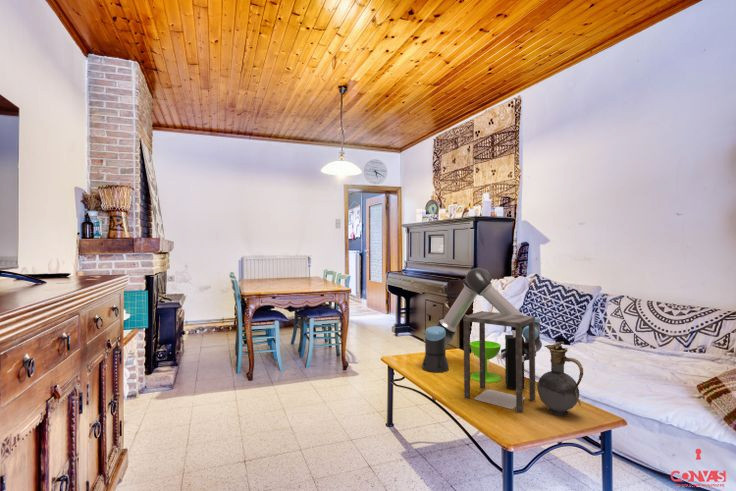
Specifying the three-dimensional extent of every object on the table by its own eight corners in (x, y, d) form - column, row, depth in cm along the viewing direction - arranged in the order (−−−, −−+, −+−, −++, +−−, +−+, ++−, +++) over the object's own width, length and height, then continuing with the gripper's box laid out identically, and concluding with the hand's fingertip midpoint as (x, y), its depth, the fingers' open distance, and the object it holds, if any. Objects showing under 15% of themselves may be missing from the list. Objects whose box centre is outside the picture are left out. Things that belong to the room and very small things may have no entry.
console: (463, 398, 181) (463, 316, 181) (482, 386, 196) (481, 311, 197) (520, 413, 164) (519, 323, 164) (535, 399, 179) (534, 316, 180)
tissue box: (524, 389, 190) (524, 332, 190) (507, 388, 192) (507, 331, 192) (521, 384, 198) (521, 328, 198) (505, 383, 199) (505, 328, 199)
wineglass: (501, 384, 200) (500, 348, 200) (468, 380, 205) (468, 346, 205) (501, 374, 215) (500, 341, 215) (471, 371, 220) (470, 339, 220)
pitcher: (550, 403, 175) (549, 336, 175) (591, 419, 158) (590, 345, 158) (533, 408, 170) (532, 339, 170) (574, 425, 153) (573, 348, 153)
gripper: (547, 359, 201) (533, 370, 184) (506, 352, 215) (489, 361, 198) (547, 345, 201) (533, 354, 184) (506, 338, 215) (489, 346, 198)
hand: (511, 358), depth 191 cm, fingers closed on tissue box, 9 cm apart
